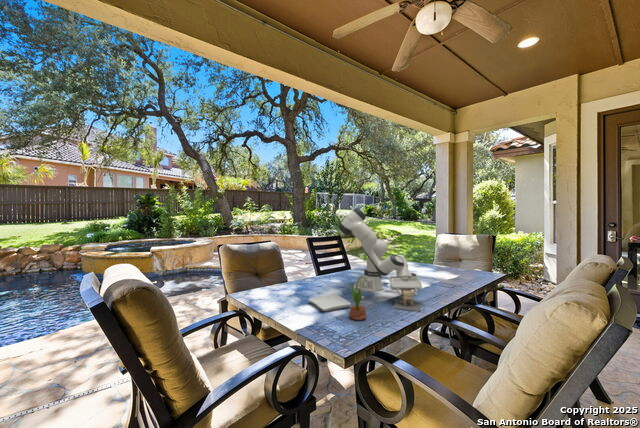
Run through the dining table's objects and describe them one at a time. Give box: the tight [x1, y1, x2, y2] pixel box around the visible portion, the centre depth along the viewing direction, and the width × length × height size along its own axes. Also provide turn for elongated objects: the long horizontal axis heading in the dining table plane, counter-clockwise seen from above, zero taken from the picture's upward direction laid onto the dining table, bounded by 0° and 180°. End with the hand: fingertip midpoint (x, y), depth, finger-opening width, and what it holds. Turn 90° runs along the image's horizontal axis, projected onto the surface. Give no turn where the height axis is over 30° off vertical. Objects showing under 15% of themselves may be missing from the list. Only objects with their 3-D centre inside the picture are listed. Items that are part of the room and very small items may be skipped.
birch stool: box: [400, 290, 415, 306], centre depth 184 cm, size 6×6×9 cm
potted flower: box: [348, 275, 370, 321], centre depth 163 cm, size 12×10×25 cm
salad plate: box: [308, 293, 352, 312], centre depth 183 cm, size 21×21×3 cm
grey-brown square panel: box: [393, 299, 422, 313], centre depth 183 cm, size 16×16×1 cm
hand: (408, 295), depth 183 cm, fingers open, 8 cm apart
